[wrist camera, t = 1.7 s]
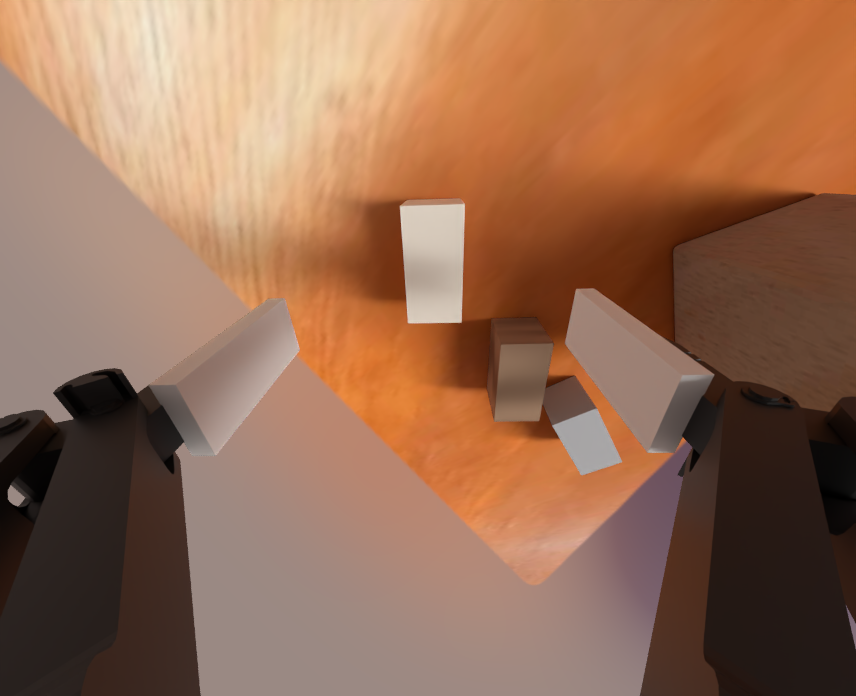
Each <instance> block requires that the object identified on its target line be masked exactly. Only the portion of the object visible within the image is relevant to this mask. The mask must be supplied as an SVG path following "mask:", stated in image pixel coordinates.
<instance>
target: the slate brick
mask: <svg viewBox="0 0 856 696" xmlns="http://www.w3.org/2000/svg"><path fill="white" fill-rule="evenodd" d="M542 404H543V406H544V408H545V410H546V413H547V415H548V417H549V420H550V422H551V424H552V426H553V428H554V430H555V431H556V433H557V435H558V436H559V438H560V440H561V441H562V443H563V445H564V447H565V448H566V450H567V452H568V453H569V455H570V457H571V458H572V460H573V462H574V464H575V465H576V467H577V469H578V470H579V472H580V474H581V475H584V474H587V473H590V472H593V471H596V470H600V469H603V468H606V467H609V466H612V465H615V464H618V463H621V462H622V460H621V458H620V456H619V454H618V452H617V450H616V448H615V446H614V444H613V442H612V439H611V437H610V435H609V433H608V431H607V429H606V427H605V425H604V423H603V420H602V418H601V416H600V414H599V412H598V410H597V408H596V406H595V405H594V403H593V402H592V400H591V399H590V397H589V396H588V394H587V393H586V391H585V390H584V388H583V387H582V385H581V384H580V382H579V381H578V379H577V378H576V376H573V377H570V378H568V379H566V380H563V381H561V382H559V383H556V384H554V385H552V386H549V387H547V388H545V393H544V398H543V403H542Z"/></svg>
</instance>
